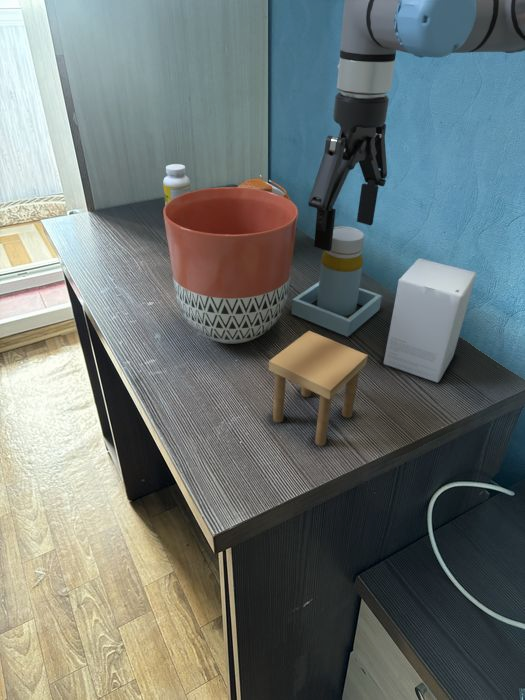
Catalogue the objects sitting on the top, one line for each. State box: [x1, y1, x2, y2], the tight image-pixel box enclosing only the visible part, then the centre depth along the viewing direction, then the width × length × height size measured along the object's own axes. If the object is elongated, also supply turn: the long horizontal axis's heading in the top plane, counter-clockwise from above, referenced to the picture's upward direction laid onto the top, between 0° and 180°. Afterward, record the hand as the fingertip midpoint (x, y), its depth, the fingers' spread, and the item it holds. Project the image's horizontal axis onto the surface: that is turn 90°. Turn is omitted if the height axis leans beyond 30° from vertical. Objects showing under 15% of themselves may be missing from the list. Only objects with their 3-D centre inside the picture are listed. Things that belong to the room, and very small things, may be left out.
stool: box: [268, 330, 369, 447], centre depth 68 cm, size 9×9×10 cm
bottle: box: [316, 225, 365, 318], centre depth 89 cm, size 7×7×15 cm
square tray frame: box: [291, 281, 383, 338], centre depth 93 cm, size 12×12×3 cm
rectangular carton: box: [382, 257, 478, 383], centre depth 78 cm, size 9×9×15 cm
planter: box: [162, 186, 299, 345], centre depth 81 cm, size 20×20×21 cm
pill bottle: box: [162, 163, 191, 205], centre depth 128 cm, size 6×6×12 cm
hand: (344, 235), depth 85 cm, fingers open, 13 cm apart
